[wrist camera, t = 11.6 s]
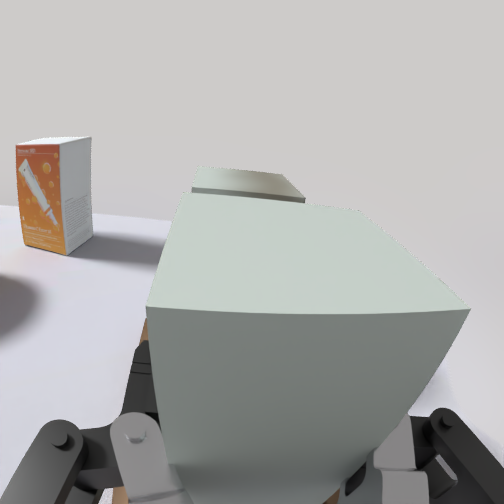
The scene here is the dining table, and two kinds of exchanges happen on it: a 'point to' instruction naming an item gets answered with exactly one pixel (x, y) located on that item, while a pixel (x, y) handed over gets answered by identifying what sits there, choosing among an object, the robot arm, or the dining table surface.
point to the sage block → (287, 345)
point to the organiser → (241, 186)
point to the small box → (55, 192)
